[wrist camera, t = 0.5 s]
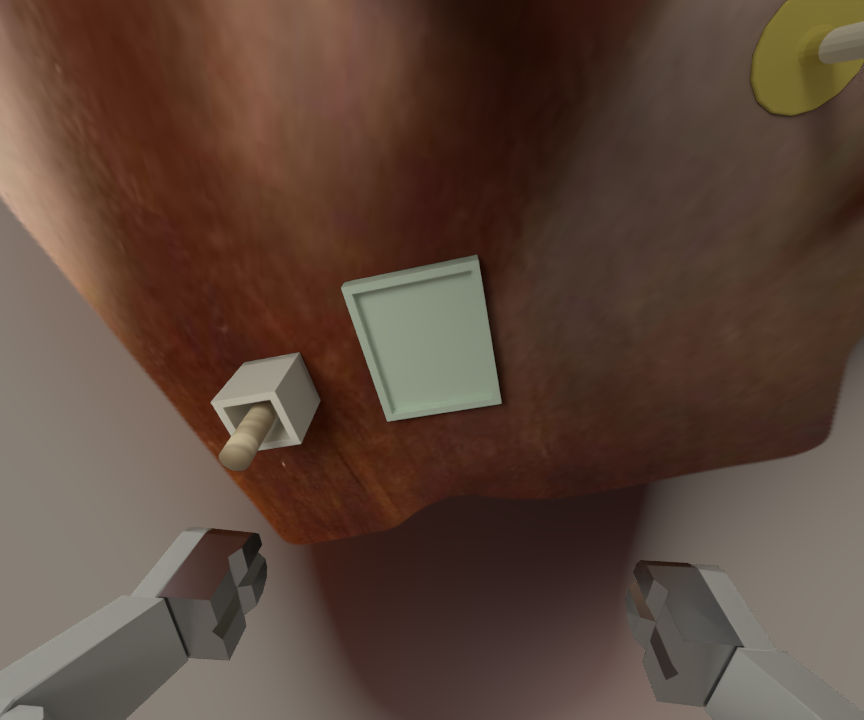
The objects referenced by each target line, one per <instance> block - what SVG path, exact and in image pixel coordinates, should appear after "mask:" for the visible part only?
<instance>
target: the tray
mask: <svg viewBox="0 0 864 720" xmlns="http://www.w3.org/2000/svg"><path fill="white" fill-rule="evenodd" d="M341 289H342V292H343V295H344V298H345V301H346V304H347V307H348V310H349V312H350V315H351V318H352V321H353V324H354V327H355V330H356V333H357V336H358V338H359V341H360V344H361V347H362V350H363V353H364V356H365V359H366V361H367V364H368V367H369V370H370V373H371V376H372V379H373V382H374V384H375V387H376V390H377V393H378V396H379V399H380V402H381V405H382V408H383V410H384V413H385V416H386V419H387V422H388V421H394V420H400V419H407V418H413V417H420V416H426V415H432V414H439V413H445V412H452V411H458V410H464V409H471V408H477V407H484V406H490V405H496V404H502V402H501V396H500V390H499V384H498V378H497V371H496V365H495V359H494V353H493V347H492V340H491V334H490V328H489V322H488V316H487V309H486V303H485V297H484V291H483V285H482V278H481V272H480V266H479V260H478V256H477V255H474V256H469V257H464V258H459V259H454V260H449V261H445V262H440V263H435V264H430V265H425V266H420V267H416V268H411V269H406V270H401V271H396V272H391V273H386V274H382V275H377V276H372V277H367V278H362V279H357V280H353V281H348V282H344V284H343V286H342V287H341Z"/></svg>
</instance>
